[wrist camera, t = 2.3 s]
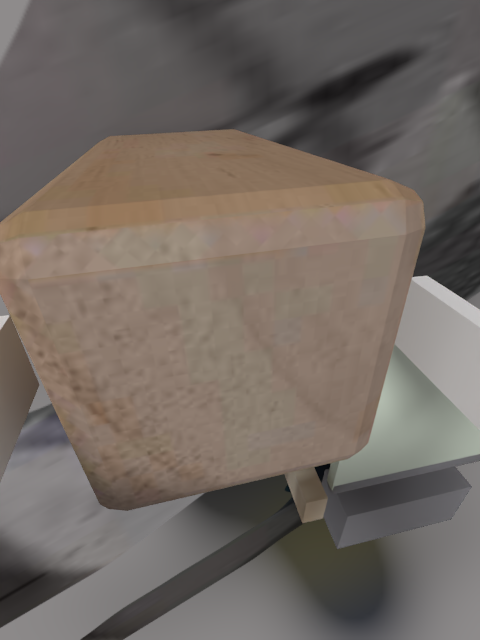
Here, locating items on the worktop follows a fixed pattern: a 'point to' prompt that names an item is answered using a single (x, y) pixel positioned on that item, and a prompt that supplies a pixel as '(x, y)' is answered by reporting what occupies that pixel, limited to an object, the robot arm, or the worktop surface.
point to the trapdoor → (402, 462)
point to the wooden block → (209, 307)
